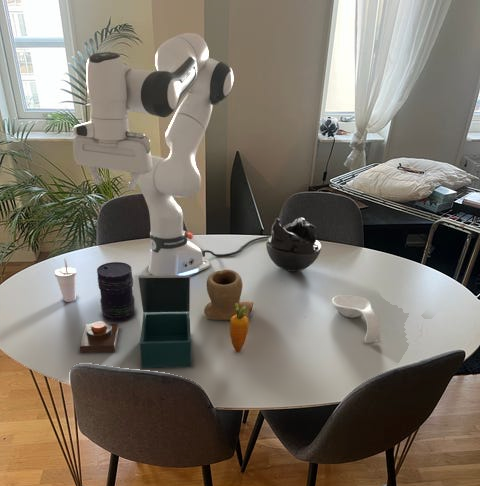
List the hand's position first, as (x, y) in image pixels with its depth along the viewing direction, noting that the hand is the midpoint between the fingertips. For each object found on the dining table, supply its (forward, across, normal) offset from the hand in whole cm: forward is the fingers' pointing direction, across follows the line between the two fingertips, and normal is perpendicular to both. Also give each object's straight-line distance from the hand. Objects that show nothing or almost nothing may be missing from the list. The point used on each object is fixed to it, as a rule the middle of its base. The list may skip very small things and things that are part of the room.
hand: (115, 186), depth 120 cm
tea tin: (+39, -19, +12) cm, 45 cm away
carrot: (+39, -37, +5) cm, 54 cm away
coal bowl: (+39, -40, -53) cm, 77 cm away
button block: (+39, 0, +14) cm, 42 cm away
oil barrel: (+39, +3, -1) cm, 40 cm away
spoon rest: (+39, -67, -23) cm, 81 cm away
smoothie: (+39, +22, -3) cm, 45 cm away
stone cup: (+39, -29, -12) cm, 50 cm away
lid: (+24, -17, +8) cm, 31 cm away
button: (+36, 0, +14) cm, 38 cm away
